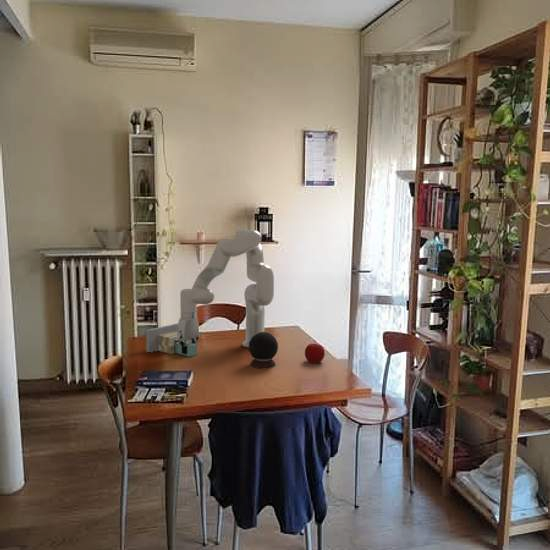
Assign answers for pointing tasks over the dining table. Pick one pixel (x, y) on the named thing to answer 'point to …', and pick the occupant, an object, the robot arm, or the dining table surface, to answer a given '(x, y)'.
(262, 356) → the snow globe
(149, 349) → the wall
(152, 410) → the dining table surface
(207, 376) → the dining table surface
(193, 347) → the peg
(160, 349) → the block
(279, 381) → the dining table surface
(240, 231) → the robot arm
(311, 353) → the apple
